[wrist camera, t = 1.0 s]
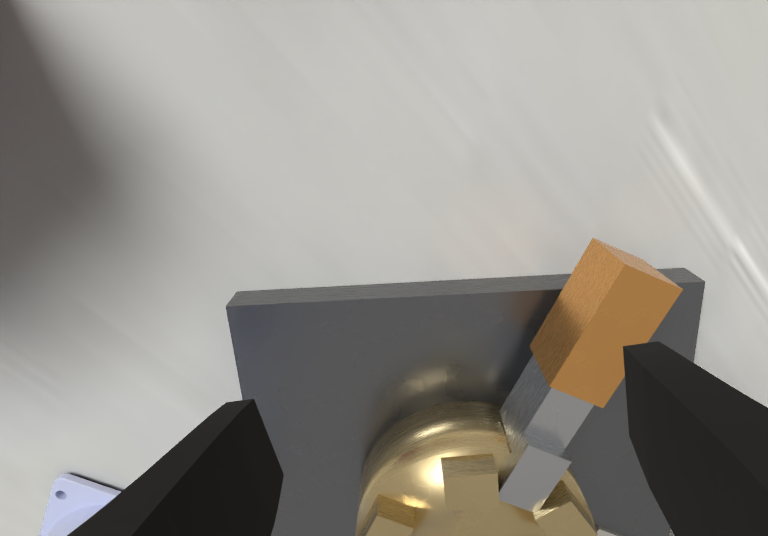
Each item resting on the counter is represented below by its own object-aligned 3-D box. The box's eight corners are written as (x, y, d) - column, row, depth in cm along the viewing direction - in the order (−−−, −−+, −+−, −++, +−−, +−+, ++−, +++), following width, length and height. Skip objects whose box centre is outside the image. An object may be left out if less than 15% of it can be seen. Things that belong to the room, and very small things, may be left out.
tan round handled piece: (509, 594, 25) (529, 687, 21) (329, 531, 24) (316, 616, 20) (721, 292, 19) (799, 344, 16) (500, 196, 18) (526, 225, 15)
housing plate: (641, 601, 27) (657, 634, 25) (291, 609, 28) (285, 641, 26) (684, 267, 21) (708, 283, 19) (236, 291, 22) (223, 308, 20)
